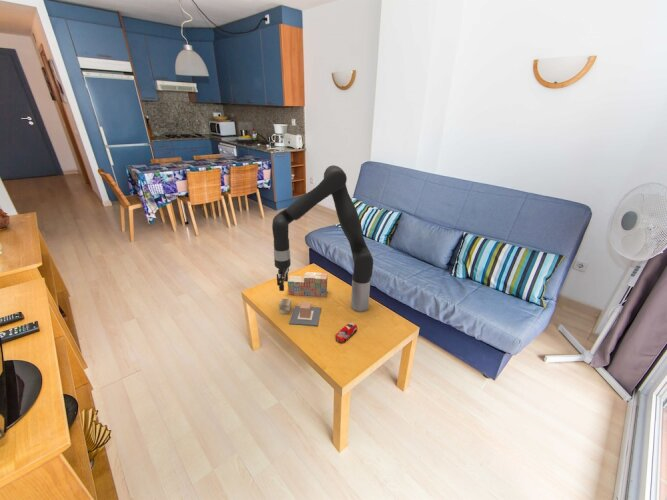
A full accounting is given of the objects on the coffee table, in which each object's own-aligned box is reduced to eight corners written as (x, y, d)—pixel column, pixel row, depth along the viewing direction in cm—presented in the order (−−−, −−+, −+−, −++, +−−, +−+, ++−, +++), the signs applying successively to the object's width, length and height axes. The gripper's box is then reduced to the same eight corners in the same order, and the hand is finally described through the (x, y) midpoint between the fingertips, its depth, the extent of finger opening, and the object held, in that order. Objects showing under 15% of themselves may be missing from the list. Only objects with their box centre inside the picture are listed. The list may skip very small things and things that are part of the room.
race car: (341, 345, 134) (342, 339, 132) (332, 340, 137) (332, 333, 135) (359, 330, 143) (359, 323, 141) (350, 325, 146) (350, 319, 144)
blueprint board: (321, 308, 157) (321, 307, 156) (317, 326, 144) (317, 325, 144) (294, 306, 158) (294, 305, 157) (289, 324, 145) (289, 322, 145)
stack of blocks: (288, 295, 167) (287, 276, 162) (290, 289, 173) (289, 270, 167) (326, 297, 166) (326, 279, 160) (327, 291, 171) (327, 273, 166)
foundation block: (311, 312, 153) (311, 302, 150) (309, 318, 148) (309, 308, 145) (301, 311, 153) (301, 301, 150) (299, 317, 149) (299, 307, 146)
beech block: (291, 308, 157) (291, 299, 154) (289, 314, 152) (288, 304, 149) (282, 307, 157) (281, 298, 154) (279, 313, 152) (279, 304, 150)
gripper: (286, 264, 134) (288, 294, 141) (293, 250, 146) (294, 278, 154) (270, 263, 134) (272, 293, 141) (278, 249, 147) (279, 277, 154)
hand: (283, 285), depth 148 cm, fingers open, 8 cm apart
